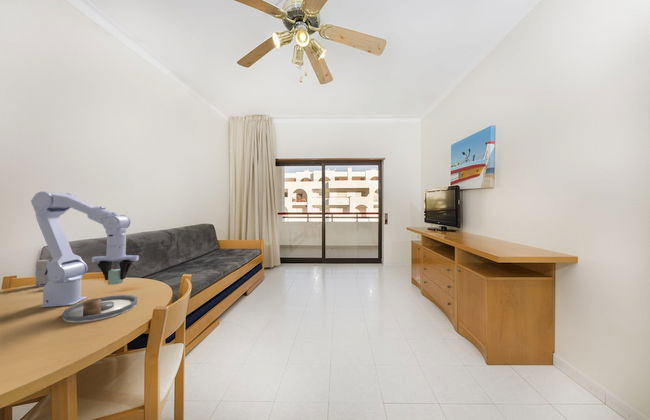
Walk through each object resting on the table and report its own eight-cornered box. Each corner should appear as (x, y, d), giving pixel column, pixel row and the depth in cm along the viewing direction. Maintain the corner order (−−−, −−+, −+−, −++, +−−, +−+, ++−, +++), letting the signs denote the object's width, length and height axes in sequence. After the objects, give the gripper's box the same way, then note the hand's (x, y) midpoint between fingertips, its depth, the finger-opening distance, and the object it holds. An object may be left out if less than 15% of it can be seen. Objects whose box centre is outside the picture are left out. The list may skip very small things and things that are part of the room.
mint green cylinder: (105, 285, 89) (105, 272, 89) (111, 281, 93) (112, 269, 93) (119, 284, 90) (119, 271, 90) (124, 280, 94) (125, 268, 94)
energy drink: (56, 283, 111) (57, 259, 111) (42, 287, 106) (42, 261, 106) (47, 283, 112) (47, 258, 112) (32, 286, 107) (32, 261, 107)
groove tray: (45, 325, 73) (45, 320, 73) (88, 301, 92) (88, 297, 92) (120, 318, 79) (120, 313, 79) (146, 297, 97) (146, 293, 97)
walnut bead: (79, 318, 77) (79, 303, 77) (88, 313, 81) (88, 299, 81) (95, 317, 78) (96, 302, 78) (103, 311, 82) (104, 297, 82)
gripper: (86, 247, 86) (85, 283, 85) (133, 246, 90) (132, 281, 90) (98, 244, 92) (97, 278, 92) (141, 243, 97) (140, 276, 97)
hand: (115, 279), depth 92 cm, fingers closed on mint green cylinder, 4 cm apart
